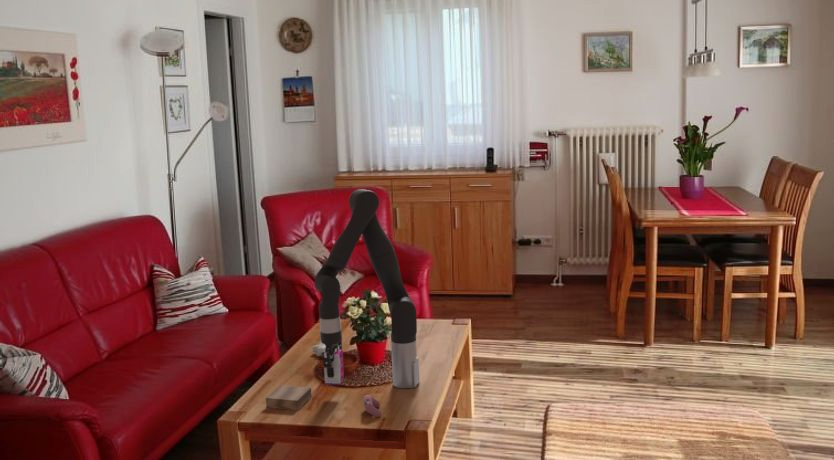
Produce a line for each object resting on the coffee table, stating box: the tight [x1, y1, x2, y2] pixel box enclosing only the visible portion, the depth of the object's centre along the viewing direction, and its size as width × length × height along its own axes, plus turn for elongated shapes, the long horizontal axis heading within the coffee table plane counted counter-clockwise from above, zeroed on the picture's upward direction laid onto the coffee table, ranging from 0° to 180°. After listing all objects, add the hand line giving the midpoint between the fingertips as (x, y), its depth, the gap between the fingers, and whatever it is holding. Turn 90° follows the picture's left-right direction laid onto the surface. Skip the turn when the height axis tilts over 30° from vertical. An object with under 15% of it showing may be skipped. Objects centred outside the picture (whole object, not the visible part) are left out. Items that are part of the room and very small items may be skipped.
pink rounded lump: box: [362, 394, 382, 418], centre depth 288 cm, size 10×5×7 cm, turn 5°
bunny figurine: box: [312, 339, 326, 357], centre depth 351 cm, size 10×5×15 cm
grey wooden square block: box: [265, 384, 313, 411], centre depth 300 cm, size 12×12×4 cm
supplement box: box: [323, 349, 345, 386], centre depth 301 cm, size 6×6×12 cm
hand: (334, 373), depth 302 cm, fingers closed on supplement box, 6 cm apart
